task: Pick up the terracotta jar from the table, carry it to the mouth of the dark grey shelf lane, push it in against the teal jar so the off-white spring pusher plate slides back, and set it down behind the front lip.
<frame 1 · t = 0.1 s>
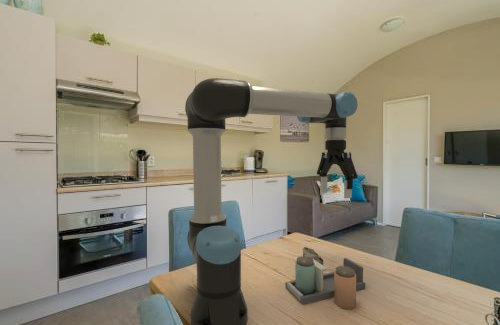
hand: (335, 195, 97), 28 cm above the table, fingers open, 13 cm apart
jar teal: (304, 291, 80), point 1 cm above the table, touching lane
mineral rock: (312, 264, 101), on the table
jar terracotta: (344, 303, 74), on the table
pusher: (316, 275, 81), point 5 cm above the table, slide at 0.0 cm
lane: (325, 287, 83), on the table
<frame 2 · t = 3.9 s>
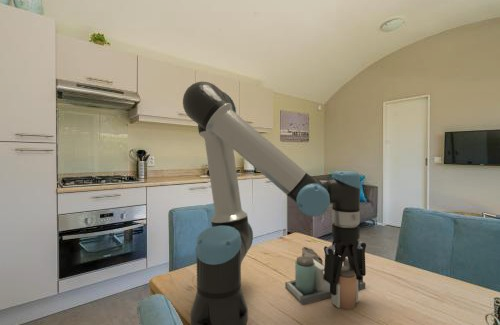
hand: (344, 301, 74), 0 cm above the table, fingers closed on jar terracotta, 6 cm apart
jar terracotta: (344, 303, 74), on the table, touching gripper
everything else where it was.
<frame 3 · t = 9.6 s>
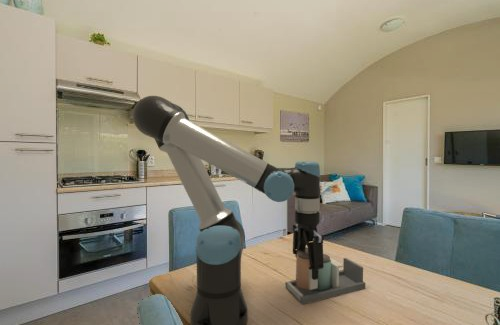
hand: (306, 283, 80), 3 cm above the table, fingers closed on jar terracotta, 6 cm apart
jar teal: (320, 286, 82), point 1 cm above the table, touching jar terracotta, lane, pusher
jar terracotta: (305, 284, 80), point 3 cm above the table, touching gripper, jar teal
pusher: (332, 272, 83), point 5 cm above the table, slide at 6.0 cm, touching jar teal
everything else where it was.
when the fingers open (3 cm above the table, at t = 10.4 s): jar terracotta drops 2 cm, resting on lane.
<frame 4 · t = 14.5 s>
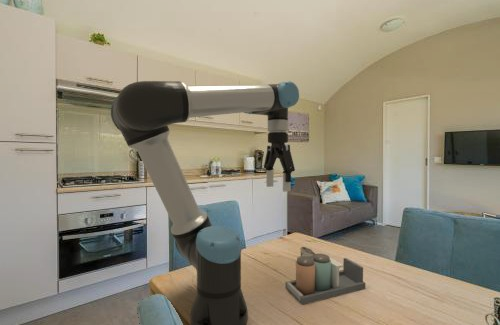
hand: (277, 188, 95), 31 cm above the table, fingers open, 13 cm apart
jar teal: (320, 286, 82), point 1 cm above the table, touching lane
jar terracotta: (305, 290, 80), point 1 cm above the table, touching lane
pusher: (332, 272, 83), point 5 cm above the table, slide at 6.1 cm
at the end: jar terracotta inside the target area on the lane (4.6 cm from its centre), point 0.6 cm above the lane's base; jar terracotta tilted 0°; pusher slide at 6.1 cm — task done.
